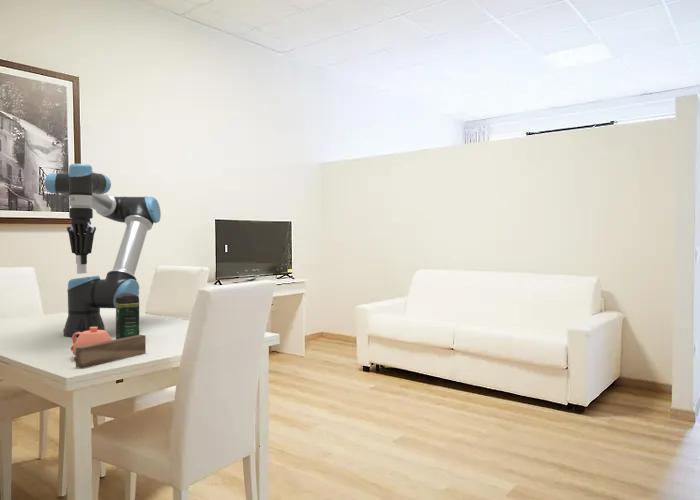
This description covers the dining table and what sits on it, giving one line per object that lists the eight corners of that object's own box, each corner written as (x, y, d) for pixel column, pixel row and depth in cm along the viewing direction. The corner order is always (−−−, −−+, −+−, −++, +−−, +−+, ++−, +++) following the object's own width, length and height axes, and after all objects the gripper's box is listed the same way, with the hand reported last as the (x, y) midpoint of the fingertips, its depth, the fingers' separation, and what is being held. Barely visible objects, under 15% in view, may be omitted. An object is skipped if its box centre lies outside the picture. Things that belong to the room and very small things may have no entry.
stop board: (75, 367, 164) (75, 347, 164) (139, 352, 185) (139, 334, 185) (82, 368, 162) (82, 348, 162) (145, 352, 184) (145, 335, 184)
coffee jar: (141, 343, 200) (141, 293, 200) (118, 345, 196) (118, 294, 195) (136, 339, 208) (135, 291, 208) (114, 341, 204) (113, 292, 203)
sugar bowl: (101, 362, 170) (100, 330, 169) (59, 361, 171) (59, 329, 171) (121, 354, 182) (121, 324, 182) (82, 353, 183) (82, 323, 183)
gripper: (59, 207, 192) (60, 273, 193) (83, 206, 186) (84, 274, 187) (78, 208, 199) (79, 272, 200) (102, 207, 193) (103, 273, 194)
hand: (81, 273), depth 193 cm, fingers closed
